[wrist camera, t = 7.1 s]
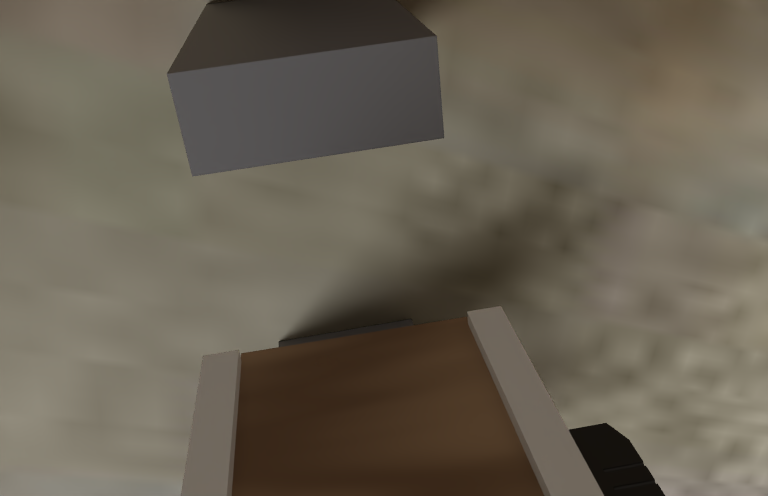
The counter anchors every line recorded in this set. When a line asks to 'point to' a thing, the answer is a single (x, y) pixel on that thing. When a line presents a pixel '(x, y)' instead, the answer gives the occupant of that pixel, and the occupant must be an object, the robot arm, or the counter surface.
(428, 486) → the walnut domino
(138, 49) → the counter surface
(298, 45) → the domino
